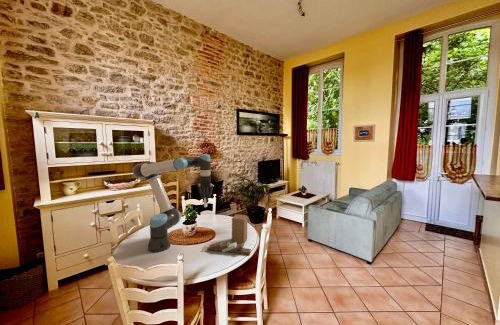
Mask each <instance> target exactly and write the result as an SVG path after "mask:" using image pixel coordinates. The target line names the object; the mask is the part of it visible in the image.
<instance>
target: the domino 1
mask: <svg viewBox="0 0 500 325" xmlns="http://www.w3.org/2000/svg"><path fill="white" fill-rule="evenodd" d="M222 244H223V240H222V241H218V242H214V243H212V244H209V247H208V248H207V249H208V251H210V250H213V249H216V248H219V247H221V246H222Z"/></svg>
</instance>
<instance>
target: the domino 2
mask: <svg viewBox="0 0 500 325" xmlns="http://www.w3.org/2000/svg"><path fill="white" fill-rule="evenodd" d="M222 243H223V242H222ZM230 244H231V243H230V241H227V242H224V243H223V244H222V246H221V247H219V248H216V249H214V250H215V252H216V251H219V250H222V249H225V248H228V247H229V245H230Z"/></svg>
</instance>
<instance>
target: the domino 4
mask: <svg viewBox="0 0 500 325" xmlns="http://www.w3.org/2000/svg"><path fill="white" fill-rule="evenodd" d="M251 251H252V248H245V247H243V249H240V250H237V251H235V254H239V255H242V254H243V256H250V255H251Z"/></svg>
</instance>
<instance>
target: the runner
mask: <svg viewBox="0 0 500 325" xmlns="http://www.w3.org/2000/svg"><path fill="white" fill-rule="evenodd" d="M209 246H210V245H209ZM209 246H207V245H204V246H203V247H202V248H201V250H200V252H201V253H212V254H220V255H232V256H240V254H235V251H234V252H231V253H230V252H229V251H226V252H222V250H219V251H216V252H215V250H214V249H213V250H210V251H208V249H207V248H208V247H209Z"/></svg>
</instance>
